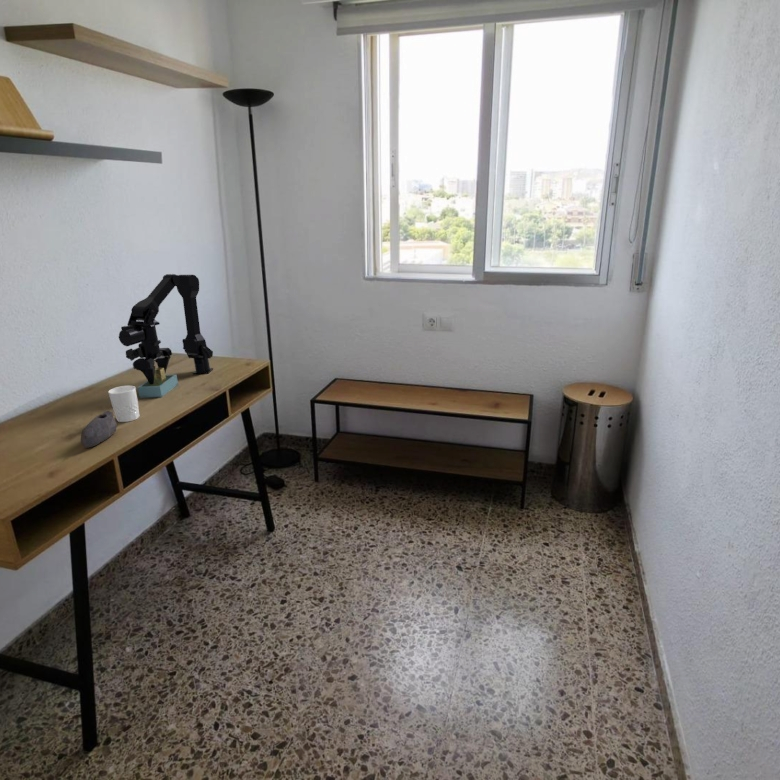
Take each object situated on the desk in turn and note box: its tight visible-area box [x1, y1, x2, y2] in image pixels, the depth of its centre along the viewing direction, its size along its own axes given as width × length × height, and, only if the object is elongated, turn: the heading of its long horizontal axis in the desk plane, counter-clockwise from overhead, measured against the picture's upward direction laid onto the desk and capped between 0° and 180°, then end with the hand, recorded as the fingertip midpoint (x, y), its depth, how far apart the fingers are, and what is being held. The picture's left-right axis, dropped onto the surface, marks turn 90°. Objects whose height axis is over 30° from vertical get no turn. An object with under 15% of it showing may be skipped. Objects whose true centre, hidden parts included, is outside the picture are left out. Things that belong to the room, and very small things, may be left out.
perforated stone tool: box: [80, 410, 118, 448], centre depth 154 cm, size 15×5×7 cm, turn 174°
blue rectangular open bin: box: [137, 374, 179, 399], centre depth 196 cm, size 14×8×4 cm, turn 178°
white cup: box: [107, 385, 140, 423], centre depth 169 cm, size 8×8×10 cm
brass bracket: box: [150, 367, 166, 386], centre depth 195 cm, size 6×5×8 cm
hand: (157, 380), depth 195 cm, fingers open, 9 cm apart
